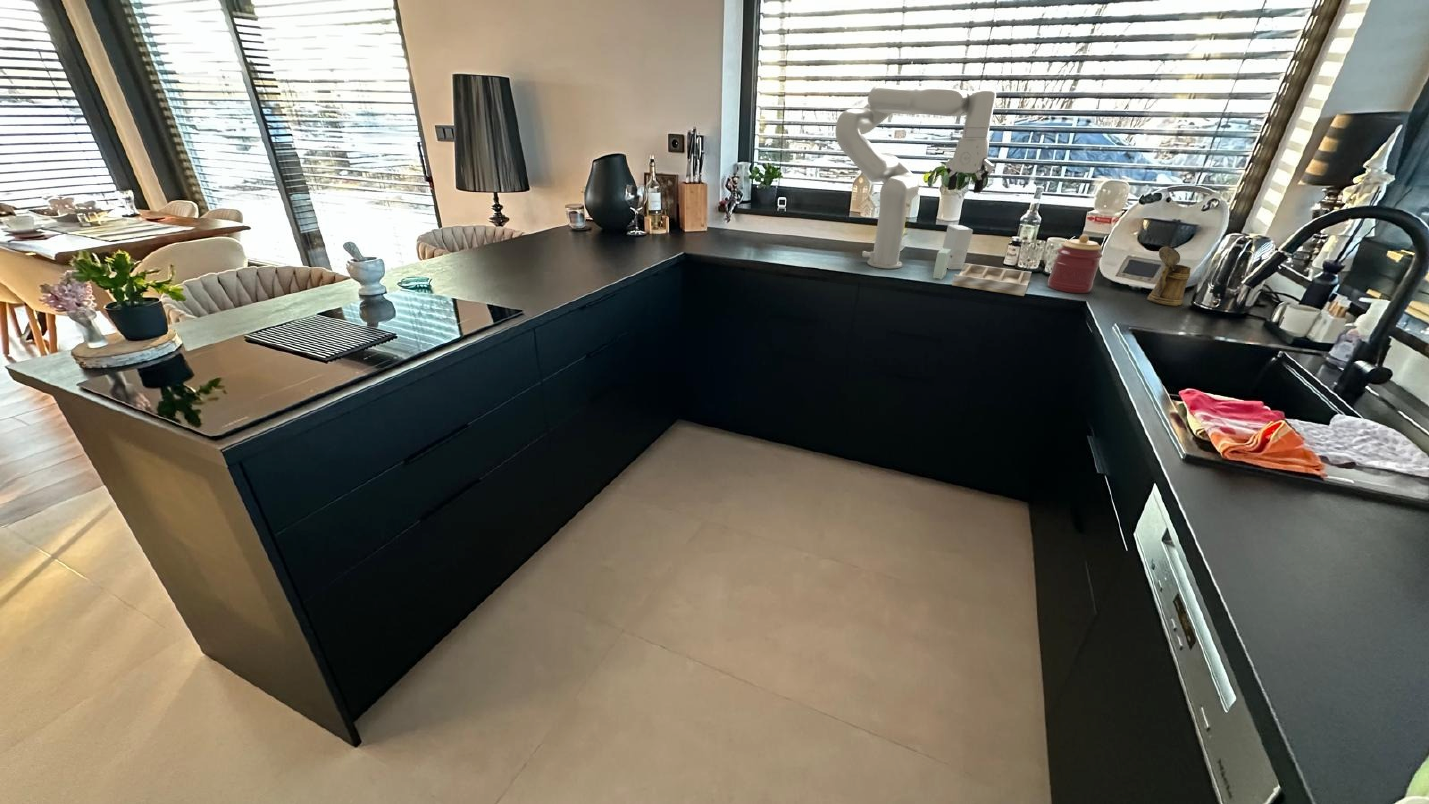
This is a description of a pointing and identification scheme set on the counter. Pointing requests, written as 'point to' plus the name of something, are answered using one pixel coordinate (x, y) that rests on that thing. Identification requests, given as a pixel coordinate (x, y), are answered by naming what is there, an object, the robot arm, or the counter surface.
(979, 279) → the divided tray
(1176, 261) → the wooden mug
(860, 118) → the robot arm
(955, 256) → the skincare box
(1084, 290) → the canister
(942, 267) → the grey-green flat block
